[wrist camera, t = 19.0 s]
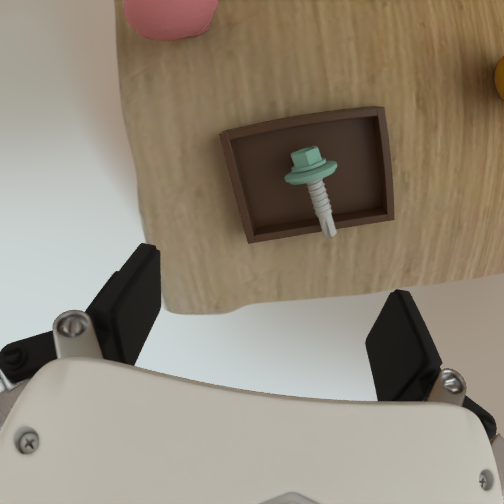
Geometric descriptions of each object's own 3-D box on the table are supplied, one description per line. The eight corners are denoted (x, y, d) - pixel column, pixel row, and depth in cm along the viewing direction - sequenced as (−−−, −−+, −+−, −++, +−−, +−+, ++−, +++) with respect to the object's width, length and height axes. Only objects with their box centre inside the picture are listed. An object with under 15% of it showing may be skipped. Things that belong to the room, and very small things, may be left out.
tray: (375, 106, 25) (384, 107, 23) (386, 210, 31) (394, 220, 28) (223, 130, 28) (218, 133, 26) (250, 233, 33) (248, 243, 31)
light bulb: (249, 18, 22) (231, -27, 12) (198, 66, 25) (151, 51, 14) (199, -17, 20) (157, -66, 9) (151, 30, 23) (88, 6, 12)
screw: (277, 155, 28) (277, 162, 24) (325, 140, 27) (334, 145, 23) (305, 235, 32) (309, 256, 27) (349, 222, 31) (360, 241, 26)
